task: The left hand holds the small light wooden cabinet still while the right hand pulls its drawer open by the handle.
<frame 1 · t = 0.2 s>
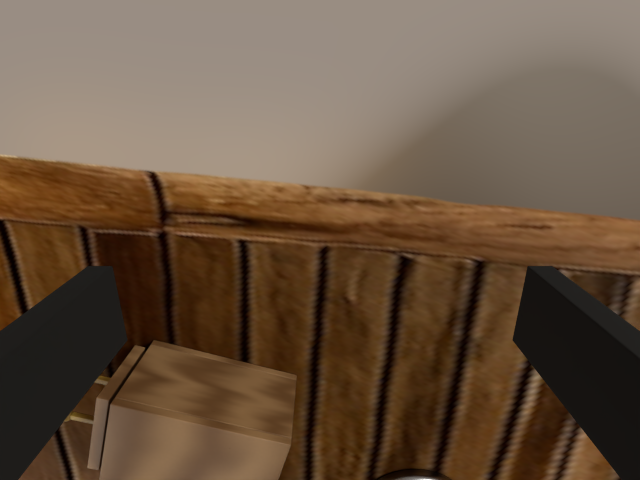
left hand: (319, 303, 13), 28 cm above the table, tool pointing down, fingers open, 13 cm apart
cabinet: (217, 392, 49), on the table
drawer: (162, 414, 43), point 5 cm above the table, slide at 0.5 cm
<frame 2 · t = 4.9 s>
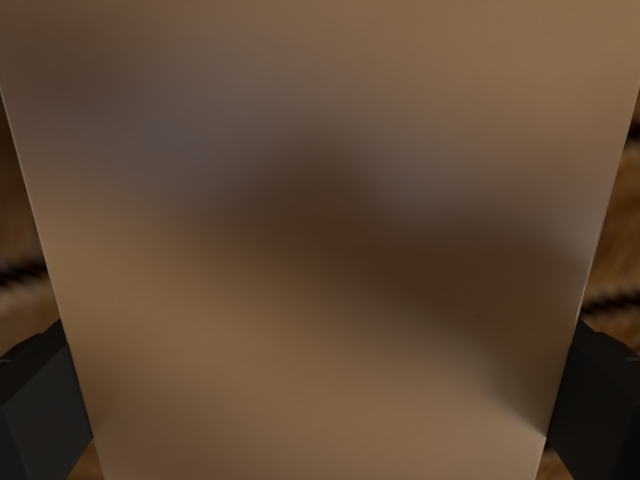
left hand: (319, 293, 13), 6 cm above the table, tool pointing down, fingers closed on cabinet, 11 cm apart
cabinet: (319, 124, 17), on the table, touching left hand
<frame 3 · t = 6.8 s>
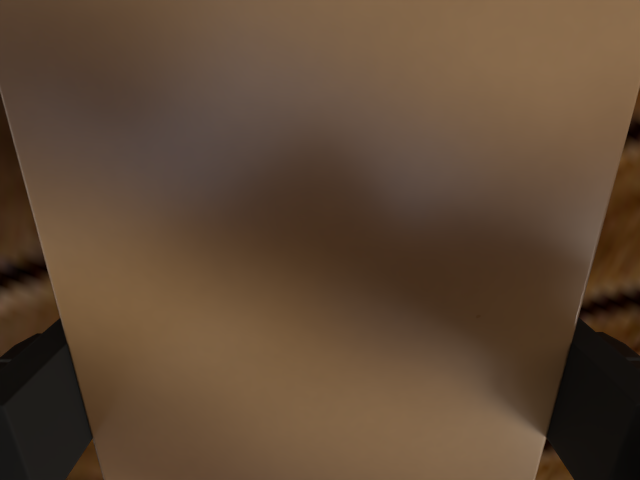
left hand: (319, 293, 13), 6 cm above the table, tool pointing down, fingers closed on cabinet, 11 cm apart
cabinet: (319, 124, 17), on the table, touching left hand
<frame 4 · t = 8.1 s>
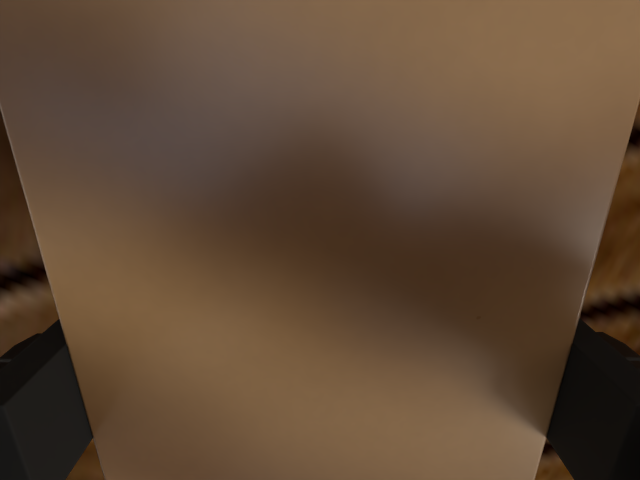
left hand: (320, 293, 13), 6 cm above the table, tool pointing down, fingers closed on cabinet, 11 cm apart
cabinet: (319, 122, 16), on the table, touching left hand
when the left hand's fingers open (6 cm above the table, at t = 9.4 s): cabinet stays where it is, on the table.
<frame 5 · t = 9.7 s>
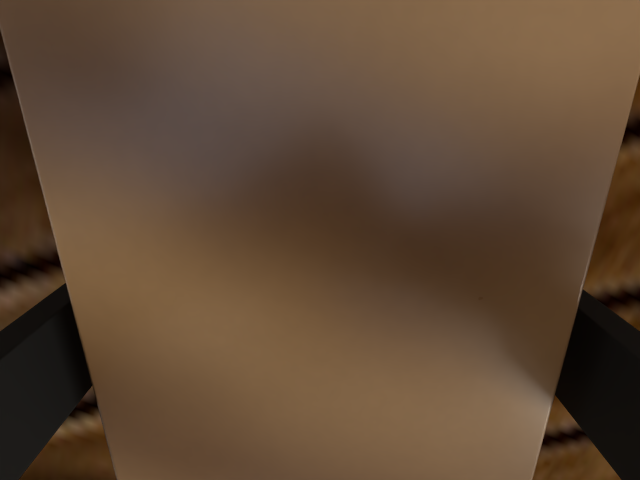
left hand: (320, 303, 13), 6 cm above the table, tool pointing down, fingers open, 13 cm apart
cabinet: (323, 116, 17), on the table
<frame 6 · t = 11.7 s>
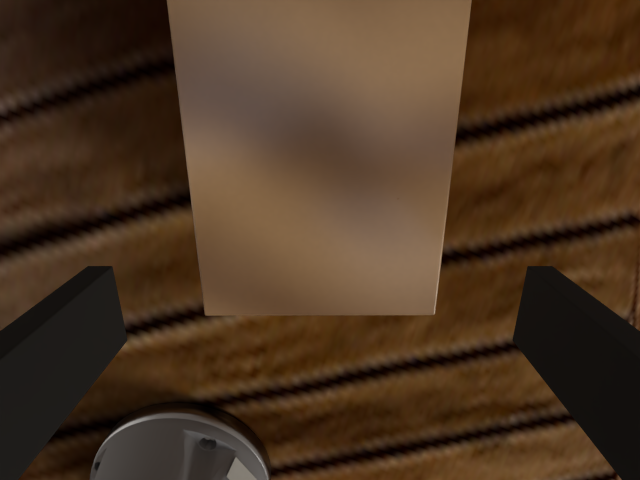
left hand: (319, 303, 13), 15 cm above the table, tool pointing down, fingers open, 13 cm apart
cabinet: (319, 110, 25), on the table
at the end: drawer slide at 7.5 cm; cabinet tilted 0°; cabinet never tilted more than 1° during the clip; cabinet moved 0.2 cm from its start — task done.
